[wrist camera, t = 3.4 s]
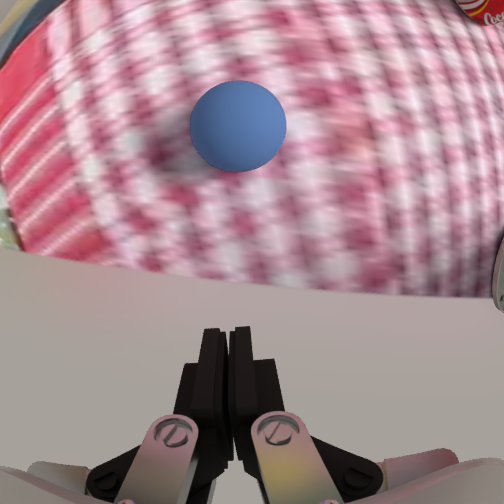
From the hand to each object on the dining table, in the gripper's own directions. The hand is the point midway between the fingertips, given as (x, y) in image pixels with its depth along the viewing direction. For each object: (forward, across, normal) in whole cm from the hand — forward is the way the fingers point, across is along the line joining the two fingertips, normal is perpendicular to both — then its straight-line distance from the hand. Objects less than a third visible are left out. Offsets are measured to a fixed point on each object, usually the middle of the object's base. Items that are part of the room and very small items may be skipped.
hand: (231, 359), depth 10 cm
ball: (+8, -1, -10) cm, 12 cm away
